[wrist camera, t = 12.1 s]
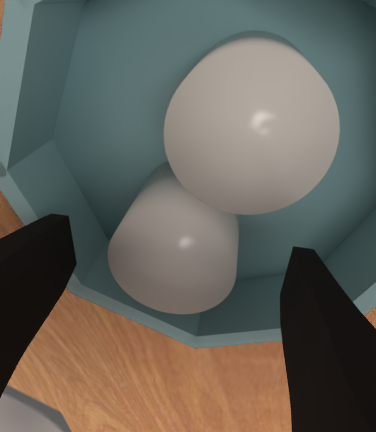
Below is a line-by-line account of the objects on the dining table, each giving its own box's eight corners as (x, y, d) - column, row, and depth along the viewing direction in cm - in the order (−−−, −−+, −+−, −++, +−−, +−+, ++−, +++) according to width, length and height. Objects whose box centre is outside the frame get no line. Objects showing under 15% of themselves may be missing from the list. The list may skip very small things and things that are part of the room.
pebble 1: (247, 163, 12) (245, 222, 9) (234, 249, 15) (228, 322, 11) (141, 151, 13) (102, 203, 10) (143, 236, 15) (112, 303, 12)
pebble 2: (335, 47, 10) (374, 73, 7) (287, 167, 12) (299, 230, 9) (203, 16, 10) (179, 25, 7) (180, 140, 12) (152, 193, 9)
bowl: (528, 66, 10) (638, 95, 7) (274, 320, 17) (277, 385, 15) (111, -190, 9) (38, -285, 6) (25, 204, 16) (-26, 250, 13)
